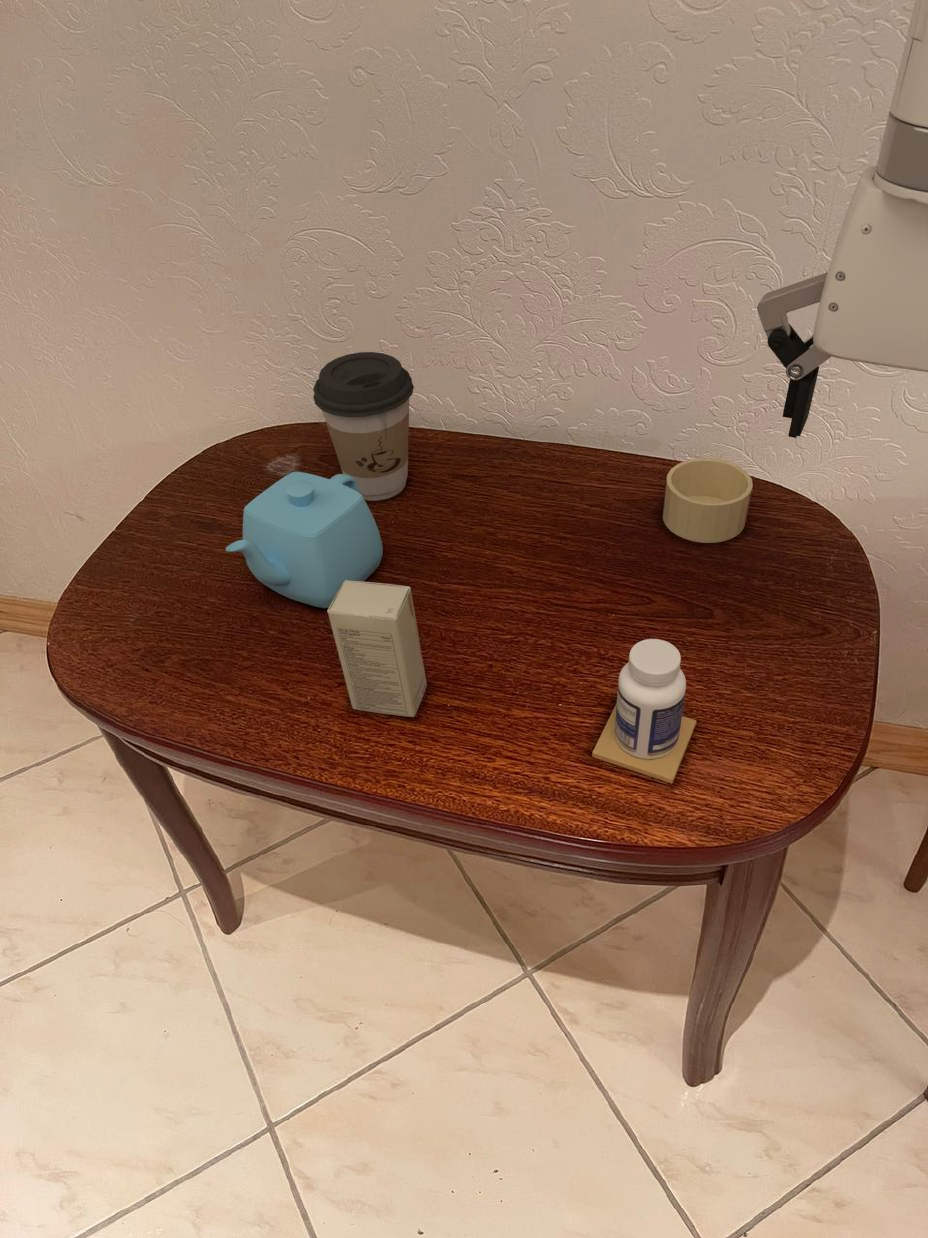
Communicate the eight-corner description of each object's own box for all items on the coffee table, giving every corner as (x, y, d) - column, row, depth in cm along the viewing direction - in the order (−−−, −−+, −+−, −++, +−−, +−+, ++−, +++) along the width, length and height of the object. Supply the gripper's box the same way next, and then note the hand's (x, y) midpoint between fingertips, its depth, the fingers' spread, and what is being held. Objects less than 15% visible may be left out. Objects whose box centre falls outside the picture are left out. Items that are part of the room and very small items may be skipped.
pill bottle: (681, 718, 77) (693, 637, 71) (674, 766, 73) (687, 685, 67) (618, 708, 78) (625, 627, 72) (609, 755, 75) (615, 674, 68)
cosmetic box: (428, 685, 83) (415, 585, 74) (414, 720, 80) (400, 619, 71) (363, 675, 84) (343, 576, 76) (347, 709, 81) (325, 610, 73)
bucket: (753, 505, 100) (761, 467, 97) (733, 550, 95) (741, 512, 91) (676, 488, 104) (680, 451, 100) (652, 531, 98) (656, 494, 94)
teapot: (209, 612, 92) (179, 523, 84) (321, 522, 103) (303, 436, 95) (298, 655, 87) (274, 564, 79) (407, 555, 97) (395, 466, 90)
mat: (696, 724, 77) (696, 720, 77) (672, 784, 73) (673, 779, 72) (619, 700, 80) (619, 696, 79) (591, 757, 75) (592, 752, 75)
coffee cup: (347, 521, 103) (326, 405, 93) (319, 473, 111) (297, 361, 100) (438, 494, 106) (427, 379, 96) (404, 449, 113) (390, 338, 103)
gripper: (1150, 144, 45) (1026, 438, 57) (800, 124, 51) (753, 392, 63) (1158, 190, 40) (1021, 501, 52) (771, 162, 47) (725, 444, 58)
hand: (874, 441), depth 57 cm, fingers open, 9 cm apart
